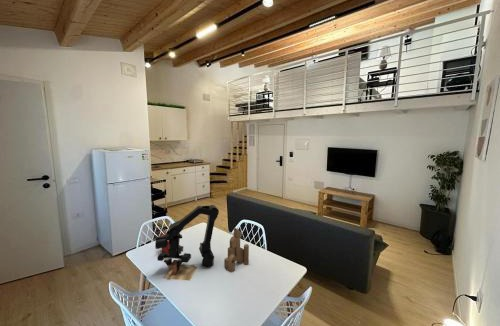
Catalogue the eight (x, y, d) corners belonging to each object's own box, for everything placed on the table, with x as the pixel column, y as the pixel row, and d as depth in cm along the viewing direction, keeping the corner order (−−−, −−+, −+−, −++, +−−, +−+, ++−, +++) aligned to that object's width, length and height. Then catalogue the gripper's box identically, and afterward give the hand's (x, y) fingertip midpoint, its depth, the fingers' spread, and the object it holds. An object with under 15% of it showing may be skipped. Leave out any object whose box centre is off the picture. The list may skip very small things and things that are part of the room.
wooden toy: (230, 273, 135) (230, 233, 132) (224, 268, 140) (224, 230, 137) (249, 263, 145) (250, 227, 142) (243, 259, 150) (243, 224, 147)
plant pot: (156, 254, 156) (155, 237, 154) (170, 246, 167) (170, 231, 166) (169, 259, 150) (169, 242, 148) (183, 250, 161) (183, 234, 160)
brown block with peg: (180, 268, 137) (180, 260, 136) (172, 279, 126) (172, 270, 125) (174, 268, 137) (174, 259, 137) (165, 279, 126) (165, 270, 126)
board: (197, 268, 139) (197, 263, 139) (189, 282, 126) (189, 276, 125) (173, 266, 141) (173, 261, 140) (162, 280, 127) (162, 274, 127)
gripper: (194, 240, 139) (194, 263, 141) (165, 238, 141) (166, 262, 142) (187, 249, 128) (187, 274, 130) (156, 247, 130) (157, 272, 131)
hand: (174, 270), depth 133 cm, fingers closed on brown block with peg, 4 cm apart
